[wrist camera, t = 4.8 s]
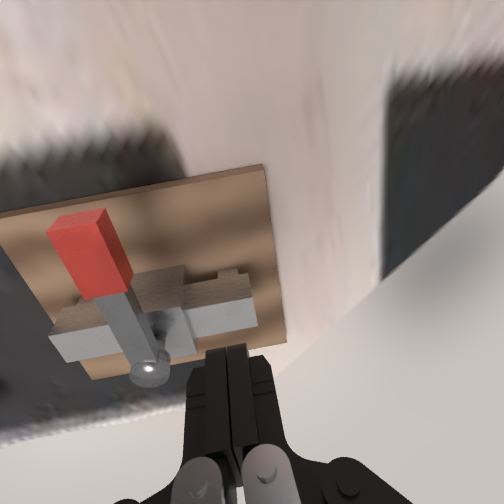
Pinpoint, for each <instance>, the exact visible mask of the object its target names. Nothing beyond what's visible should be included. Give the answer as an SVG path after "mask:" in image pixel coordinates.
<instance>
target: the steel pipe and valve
mask: <svg viewBox="0 0 504 504" xmlns="http://www.w3.org/2000/svg"><path fill="white" fill-rule="evenodd" d="M131 286H132V288H133V290H134V293H135V295H136V297H137V299H138V301H139V304H140V306H141V308H142V310H143V312H144V315H145V317H146V319H147V321H148V323H149V326H150V328H151V330H152V332H153V334H159V335H162V336H163V337H164V338H165V340H166V344H165V350H166V351H167V352H168V353H169V354H170V356H171V359H172V358H177V357H182V356H187V355H193V354H198V338H199V337H204V336H209V335H214V334H220V333H225V332H230V331H235V330H240V329H246V328H251V327H256V326H258V323H257V317H256V312H255V306H254V300H253V295H252V290H251V285H250V280H249V275H248V273H245V274H238V269H237V267H235V268H230V269H224V270H219V271H218V279H213V280H208V281H203V282H197V283H192V284H191V283H190V280H189V277H188V274H187V271H186V268H185V264H184V265H179V266H173V267H168V268H163V269H157V270H152V271H147V272H142V273H136V274H133V277H132V280H131ZM48 337H49V339H50V340H51V341H52V343H53V344H54V346H55V347H56V348H57V350H58V351H59V352H60V354H61V355H62V357H63V358H64V359H65V361H66V362H67V363H69V362H74V361H79V360H84V359H89V358H95V357H100V356H105V355H110V354H115V353H121V352H123V351H122V349H121V347H120V345H119V344H118V342H117V340H116V338H115V336H114V334H113V333H112V331H111V329H110V327H109V325H108V324H107V322H106V320H105V318H104V316H103V315H102V313H101V311H100V309H99V307H98V306H97V304H96V302H95V300H94V298H91V299H86V300H84V298H83V297H80V299H79V301H78V303H77V305H76V306H71V307H66V308H63V309H62V311H61V313H60V315H59V316H58V318H57V320H56V322H55V324H54V326H53V328H52V330H51V331H50V333H49V335H48Z"/></svg>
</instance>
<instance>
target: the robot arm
mask: <svg viewBox="0 0 504 504" xmlns="http://www.w3.org/2000/svg"><path fill="white" fill-rule="evenodd" d="M186 397H187V399H186V411H185V427H184V445H183V459H182V463H181V466H180V469H179V471H178V473H177V475H176V476H175V478H174V479H173V480H172V482H171V483H170V484H169V485H167V486H166V487H165V488H164V489H162V490H161V491H159V492H158V493H156V494H154V495H153V496H151V497H149V498H147V499H146V500H144V501H143V502H141V503H139V502H137V501H136V500H133V499H123V500H120V501H118V502H116V503H114V504H237V492H236V487H242V486H243V487H244V494H245V501H246V504H412V503H411V502H410V501H409V500H407V499H406V498H405V497H404V496H402V495H401V494H400V493H399V492H397V491H396V490H395V489H394V488H392V487H391V486H390V485H389V484H387V483H386V482H385V481H384V480H382V479H381V478H379V477H378V476H377V475H376V474H375V473H373V472H372V471H371V470H369V469H368V468H367V467H366V466H365V465H363V464H362V463H360V462H359V461H357V460H355V459H353V458H348V457H340V458H336V459H334V460H332V461H331V462H329V463H328V464H327V463H321V462H316V461H311V460H306V459H304V458H302V457H300V456H298V455H297V454H296V453H294V452H293V451H292V449H291V448H290V447H289V445H288V444H287V441H286V439H285V436H284V431H283V425H282V420H281V415H280V410H279V405H278V400H277V395H276V390H275V385H274V380H273V375H272V370H271V365H270V364H269V363H268V361H267V360H266V359H265V357H264V356H263V355H259V356H254V357H249V352H248V348H247V344H246V343H241V344H236V345H231V346H227V349H226V347H221V348H216V349H211V350H206V352H205V366H203V367H198V368H193V371H192V373H191V375H190V377H189V379H188V381H187V392H186Z"/></svg>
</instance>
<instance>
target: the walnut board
mask: <svg viewBox="0 0 504 504" xmlns="http://www.w3.org/2000/svg"><path fill="white" fill-rule="evenodd" d="M100 208H106V210H107V213H108V215H109V217H110V220H111V222H112V224H113V226H114V229H115V231H116V233H117V236H118V238H119V240H120V242H121V245H122V247H123V249H124V252H125V254H126V256H127V258H128V261H129V263H130V265H131V268H132V270H133V272H134V274H136V273H142V272H147V271H152V270H157V269H163V268H168V267H173V266H179V265H184V264H185V268H186V271H187V274H188V277H189V280H190V283H191V284H192V283H197V282H203V281H208V280H213V279H218V271H219V270H224V269H230V268H235V267H237V269H238V274H245V273H248V275H249V280H250V285H251V290H252V295H253V300H254V306H255V312H256V317H257V323H258V326H256V327H251V328H246V329H240V330H235V331H230V332H225V333H220V334H214V335H209V336H204V337H199V338H198V354H193V355H187V356H182V357H177V358H172V359H171V363H170V365H173V364H178V363H183V362H189V361H194V360H199V359H204V358H205V352H206V350H211V349H216V348H221V347H226V349H227V346H231V345H236V344H241V343H246V344H247V348H248V350H251V349H256V348H261V347H266V346H272V345H277V344H282V343H287V339H286V331H285V324H284V316H283V309H282V301H281V294H280V286H279V279H278V271H277V264H276V256H275V249H274V241H273V234H272V226H271V219H270V211H269V204H268V196H267V189H266V181H265V174H264V169H263V166H262V164H260V165H255V166H249V167H244V168H238V169H233V170H228V171H222V172H217V173H211V174H206V175H201V176H195V177H190V178H184V179H179V180H174V181H168V182H163V183H157V184H152V185H147V186H141V187H136V188H130V189H125V190H120V191H114V192H109V193H103V194H98V195H93V196H87V197H82V198H76V199H71V200H66V201H60V202H55V203H49V204H44V205H39V206H33V207H28V208H22V209H17V210H12V211H6V212H1V213H0V245H1V246H2V248H3V249H4V251H5V252H6V254H7V255H8V257H9V258H10V260H11V261H12V262H13V264H14V265H15V267H16V268H17V270H18V271H19V273H20V274H21V276H22V277H23V279H24V280H25V282H26V283H27V285H28V286H29V288H30V289H31V290H32V292H33V293H34V295H35V296H36V298H37V299H38V301H39V302H40V304H41V305H42V307H43V308H44V310H45V311H46V313H47V314H48V315H49V317H50V318H51V320H52V321H53V323H54V324H55V322H56V320H57V318H58V316H59V315H60V313H61V311H62V309H63V308H66V307H71V306H76V305H77V303H78V301H79V299H80V297H82V295H81V293H80V291H79V290H78V288H77V286H76V284H75V283H74V281H73V279H72V277H71V276H70V274H69V272H68V270H67V269H66V267H65V265H64V264H63V262H62V260H61V258H60V257H59V255H58V253H57V251H56V250H55V248H54V246H53V244H52V243H51V241H50V239H49V237H48V236H47V234H46V231H47V230H48V229H49V228H50V226H51V225H52V224H53V223H54V222H55V220H56V219H57V218H58V217H59V216H62V215H68V214H73V213H78V212H84V211H89V210H94V209H100ZM79 361H80V363H81V364H82V366H83V367H84V368H85V370H86V371H87V373H88V374H89V376H90V377H91V379H92V380H95V379H101V378H106V377H111V376H116V375H121V374H126V373H130V369H131V365H130V363H129V362H128V360H127V358H126V356H125V354H124V353H123V352H121V353H115V354H110V355H105V356H100V357H95V358H89V359H84V360H79Z"/></svg>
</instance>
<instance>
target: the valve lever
mask: <svg viewBox="0 0 504 504" xmlns="http://www.w3.org/2000/svg"><path fill="white" fill-rule="evenodd" d="M46 234H47V236H48V237H49V239H50V241H51V243H52V244H53V246H54V248H55V250H56V251H57V253H58V255H59V257H60V258H61V260H62V262H63V264H64V265H65V267H66V269H67V270H68V272H69V274H70V276H71V277H72V279H73V281H74V283H75V284H76V286H77V288H78V290H79V291H80V293H81V295H82V297H83V298H84V300H86V299H91V298H94V300H95V302H96V304H97V306H98V307H99V309H100V311H101V313H102V315H103V316H104V318H105V320H106V322H107V324H108V325H109V327H110V329H111V331H112V333H113V334H114V336H115V338H116V340H117V342H118V344H119V345H120V347H121V349H122V351H123V353H124V354H125V356H126V358H127V360H128V362H129V363H130V365H131V369H130V373H129V377H130V379H131V381H132V382H133V383H135V384H136V385H138V386H141V387H148V388H151V387H157V386H160V385H162V384H164V383H165V382H166V381H167V380H168V378H169V372H170V363H171V356H170V354H169V353H168V352H167V351H166V350H165V344H166V340H165V338H164V337H163V336H162V335H159V334H153V332H152V330H151V328H150V326H149V323H148V321H147V319H146V317H145V315H144V312H143V310H142V308H141V306H140V304H139V301H138V299H137V297H136V295H135V293H134V290H133V288H132V286H131V280H132V277H133V274H134V272H133V270H132V268H131V265H130V263H129V261H128V258H127V256H126V254H125V252H124V249H123V247H122V245H121V242H120V240H119V238H118V236H117V233H116V231H115V229H114V226H113V224H112V222H111V220H110V217H109V215H108V213H107V210H106V208H100V209H94V210H89V211H84V212H78V213H73V214H68V215H62V216H59V217H58V218H57V219H56V220H55V222H54V223H53V224H52V225H51V226H50V228H49V229H48V230H47V231H46Z"/></svg>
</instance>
